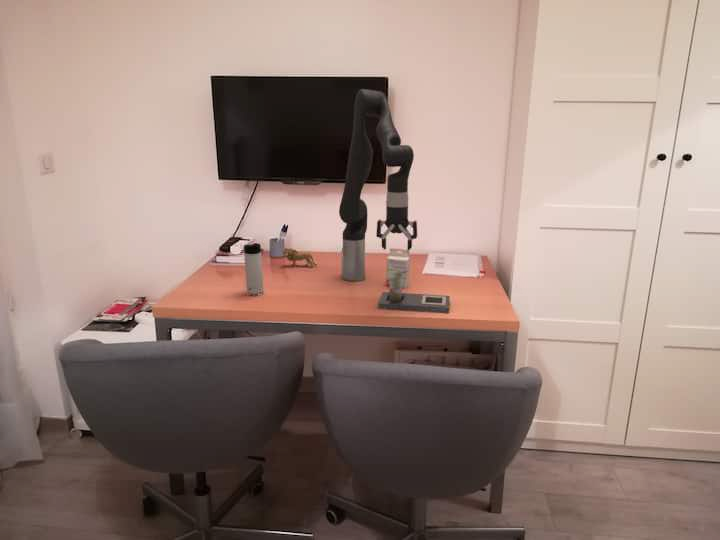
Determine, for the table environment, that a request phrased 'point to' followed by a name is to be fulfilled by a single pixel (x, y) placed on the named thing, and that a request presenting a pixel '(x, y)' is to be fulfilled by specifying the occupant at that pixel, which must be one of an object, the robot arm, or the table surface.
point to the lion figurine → (298, 256)
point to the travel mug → (253, 269)
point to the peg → (395, 286)
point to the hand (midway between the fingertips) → (396, 249)
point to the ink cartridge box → (398, 265)
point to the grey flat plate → (416, 302)
